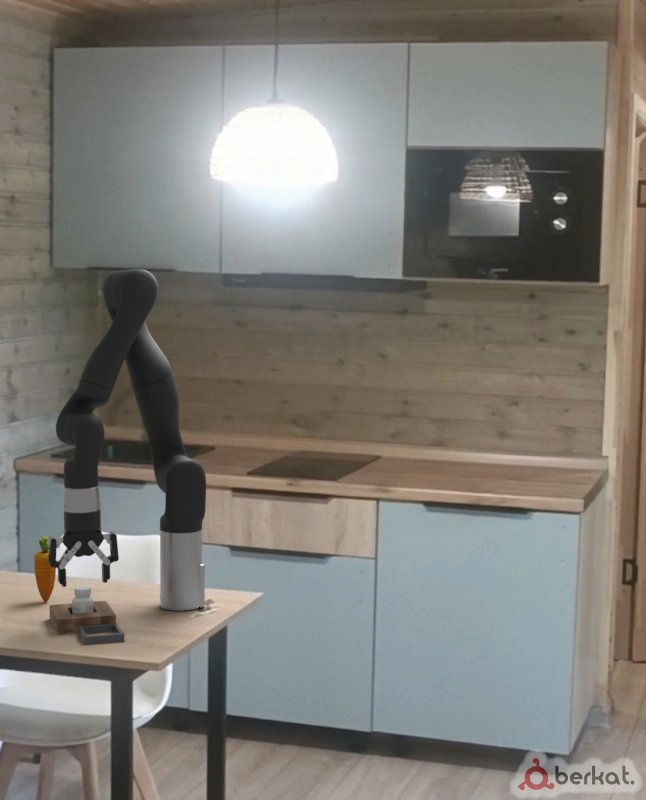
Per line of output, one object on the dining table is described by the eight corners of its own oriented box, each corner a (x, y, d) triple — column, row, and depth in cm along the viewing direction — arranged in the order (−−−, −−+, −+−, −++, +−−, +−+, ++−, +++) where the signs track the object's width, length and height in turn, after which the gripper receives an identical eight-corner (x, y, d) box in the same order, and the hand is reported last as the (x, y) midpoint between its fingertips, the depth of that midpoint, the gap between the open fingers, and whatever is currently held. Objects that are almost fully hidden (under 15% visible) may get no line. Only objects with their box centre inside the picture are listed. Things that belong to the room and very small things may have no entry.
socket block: (106, 614, 286) (105, 600, 286) (116, 629, 275) (116, 615, 275) (49, 618, 282) (49, 605, 282) (57, 634, 271) (57, 619, 271)
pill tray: (117, 630, 274) (117, 623, 274) (124, 641, 267) (124, 633, 266) (78, 633, 271) (78, 626, 271) (84, 644, 264) (84, 637, 264)
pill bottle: (93, 620, 281) (93, 585, 280) (93, 626, 277) (93, 590, 276) (72, 621, 281) (72, 585, 280) (72, 627, 276) (71, 590, 275)
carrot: (38, 598, 299) (37, 533, 297) (59, 599, 298) (59, 533, 296) (31, 604, 294) (30, 537, 292) (53, 605, 293) (52, 538, 292)
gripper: (112, 501, 282) (114, 576, 284) (44, 506, 277) (47, 583, 279) (119, 508, 275) (121, 585, 277) (50, 513, 270) (52, 591, 272)
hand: (84, 583), depth 278 cm, fingers open, 8 cm apart
